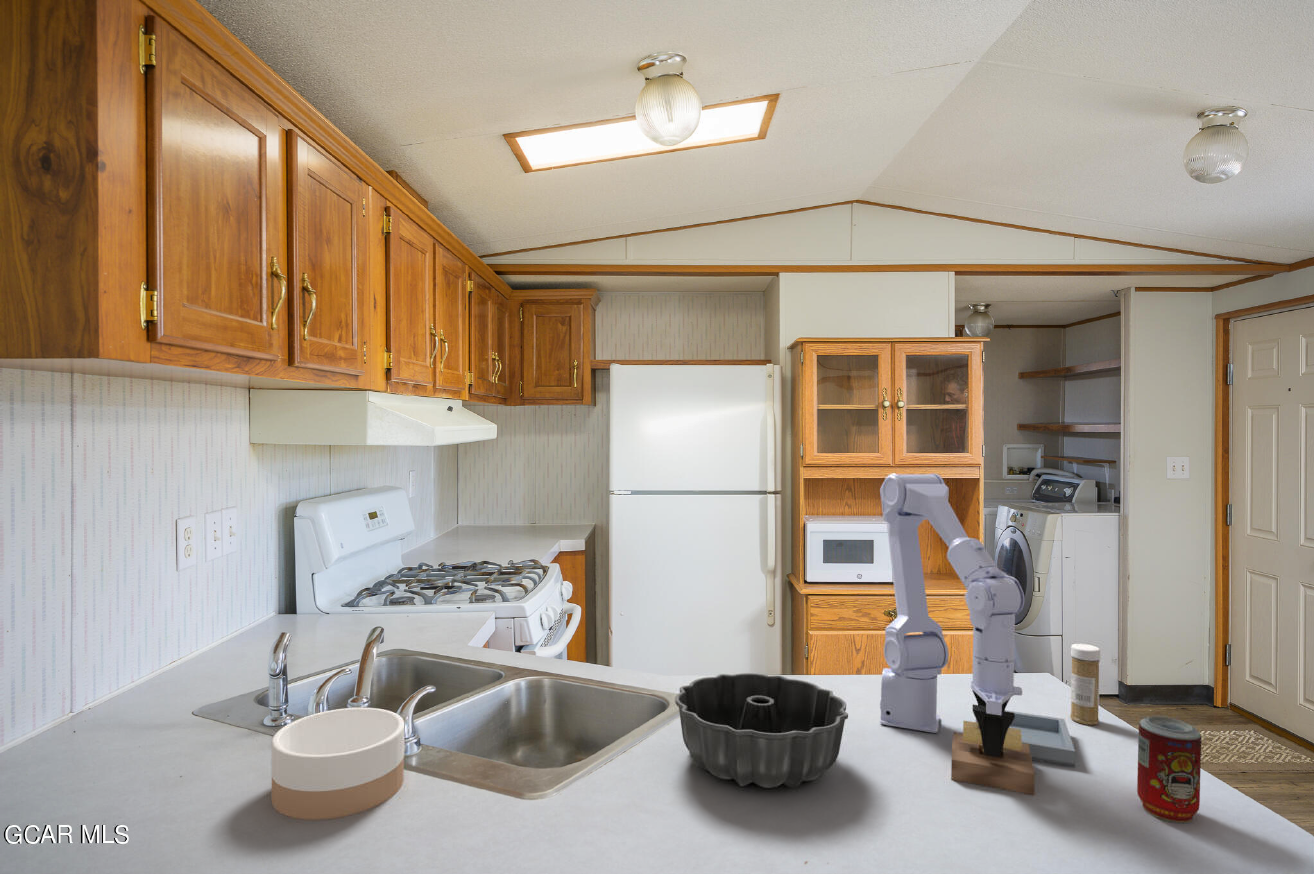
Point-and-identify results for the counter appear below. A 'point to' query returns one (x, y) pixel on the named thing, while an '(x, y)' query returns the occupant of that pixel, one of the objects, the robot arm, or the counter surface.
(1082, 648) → the sprinkles bottle
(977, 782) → the slot block
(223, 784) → the counter surface
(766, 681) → the bundt pan
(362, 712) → the bowl
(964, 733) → the t key
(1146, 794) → the soda can
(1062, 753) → the tray
